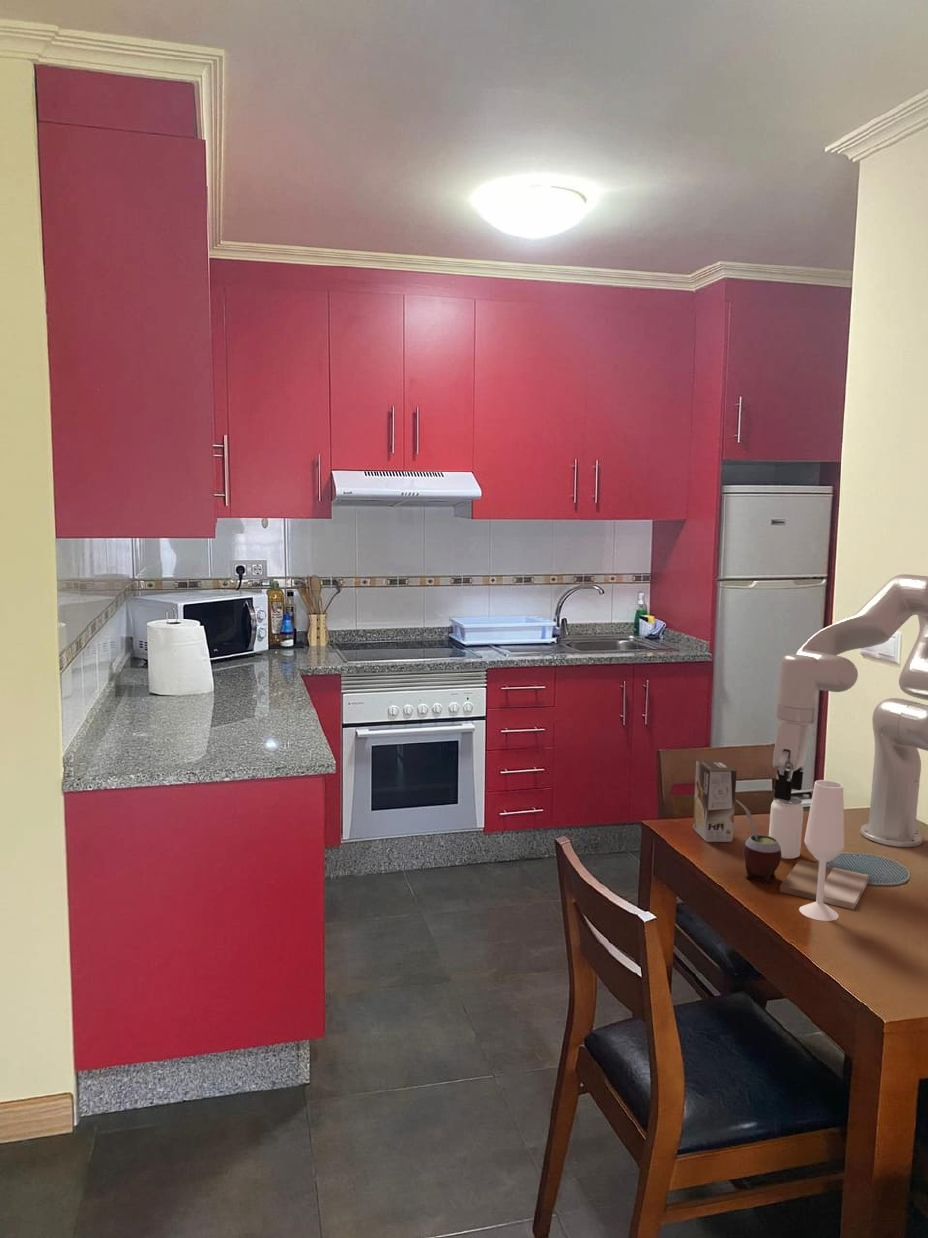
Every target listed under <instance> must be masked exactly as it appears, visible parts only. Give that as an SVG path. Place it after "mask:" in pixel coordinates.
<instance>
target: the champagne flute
mask: <svg viewBox="0 0 928 1238" xmlns="http://www.w3.org/2000/svg"><path fill="white" fill-rule="evenodd" d="M844 800H845V799H844V785H843V783H841V782H838V781H834V780H829V779H828V780H827V779H819V780H815V781H814V785H813V790H812V796H811V801H810V807H809V811H808V812H809V813H808V818H807V824H806V829H805V834H804V845H805V847H806V849H807V850H808V852H809V853H810V854H811V855H812V856H813V857H814V858H815V859H816V860H818V862H819V863H818V864H819V872H818V885H817V897H816V900H815V901H814V902H811V903H810V902H809V903H807V904H804V905H802V906H800V907H799V909H798V911H799V912H800V913H801V914H802V915H803V916H805V917H807V918H808V919H813V920H816V921H817V920H818V921H822V922H831V921H836V920H837V919H838V918H839V917H840V916H839V914H838V913H837V912H836V911H835V910H834V909H832V907H830V906H828V905H827V904H826V903H824V902H823V897H824V885H825V872H826V866H827V862H831V861H832V860H834V859H835V858H836V857H838V856H840V854H841V853H842V852H843V851H844V849H845V812H844V811H845V808H844V806H845V804H844V803H845V802H844Z"/></svg>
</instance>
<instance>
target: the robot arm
mask: <svg viewBox="0 0 928 1238" xmlns="http://www.w3.org/2000/svg"><path fill="white" fill-rule="evenodd" d="M913 616H917V618H918V623H919V625H918V626H919V628H918V629H919V630H918V631H919V632H918V635H917V638H916V640H915V642H914V644H913V645H912V646H913V647H912V649H911V651H910V653H909V654H908V655H909V656H908V658H907V659H906V661H905V662H904V663H905V664H904V665H903V668H902V670H901V672H900V674H899V679H898V685H899V689H900V690H901V691H902V692H903V693H904V694H906V695H909V696H910V697H913V698H916V699H920V700H924V701H928V575H918V574H898V575H895V576H893V577H892V578H890V579H889V580H888V581H886V583H885V584H884V585H882V587H881V588H880V589H879V590H878V591H877V592H876V593H875V594H873V596H872V597H871V598H870V599H869V600H868V601H867V602H866V603H865V604H863V606H861V608H860V609H859V610H858V611H856V613H854V614H853V615H852V616H849V617H846V618H844V619H841V620H839V621H837V622H834V623H833V624H830V625H829V626H826V627H824V628H823V629H820V630H819V631H817V632H816V633H815V634H813V635H812V636H811V637H810V638H809V639H808V640H807V641H805V643H804V644H803V645H802V646H801V647H800V648H799V649H798V650H797V651H796V652H795V653H794V654H793V653H791V654H786V655H785V656H783V657H782V659H781V662H780V663H781V665H780V673H779V674H780V675H779V685H778V694H777V696H778V697H777V704H776V705H777V706H776V716H775V719H776V721H779V722H778V727H777V731H776V734H775V735H776V736H775V742H774V743H775V744H774V749H773V756H772V764H771V765H772V766H773V768H775V769H776V768H777V771H776V776H775V777H776V778H775V783H774V793H773V794H774V795H773V798H774V797H775V798H777V799H782V800H787V801H789V800H790V799H791V796H792V790H796V791H801V790H802V787H803V777H804V771H803V770H804V764H805V763H806V760H807V753H808V743H809V731H810V726H811V725H815V717H816V709H817V699H818V698H817V697H818V691H826V692H833V693H840V692H841V693H842V692H846V691H847V690H850V689H852V687H853V686H854V685H855V684H856V682H857V681H858V676H859V675H858V674H859V672H858V668H857V666H856V665H855V663H854V662H853V661H851V660H850V659H848V658H846V657H844V656H840V654H843V653H846V652H849V651H853V650H859V649H865V648H871V647H874V646H879V645H883V644H885V643H887V642H888V641H889V639H890V640H891V638H892V637H893V635H894V634H896V633H897V631H898V630H899V629H900V628H901V627H902V626H903V625H904V624H905V623H907V621H908V620H909V619H910V618H911V617H913ZM871 721H872V729H873V739H874V754H873V755H874V756H873V757H874V758H873V769H872V771H873V772H872V779H871V780H872V782H871V791H870V792H871V793H870V804H869V805H870V806H869V815H868V823H865V824H862V825H861V827H860V834H861V835H862V836H863V837H864V838H866V839H868V840H870V841H873V842H875V843H878V844H881V845H887V846H892V847H899V848H900V847H901V848H903V847H904V848H908V847H909V848H910V847H911V848H912V847H917V846H919V845H921V844H922V843H923V836H922V835H921V834H920V833H919V832H917V830H916V825H917V812H918V803H919V802H918V801H919V792H920V791H919V790H920V780H921V773H922V772H921V771H922V760H921V757H920V752H919V750H918V749H920V750H924V751H927V752H928V705H927V704H923V703H921V702H917V701H913V700H910V699H909V700H908V699H904V698H897V697H896V698H895V697H894V698H893V697H891V698H886V699H884V700H882V701H880V702H879V703H878V704H877V705H876V707H875V708H874V710H873V713H872V720H871Z"/></svg>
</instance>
